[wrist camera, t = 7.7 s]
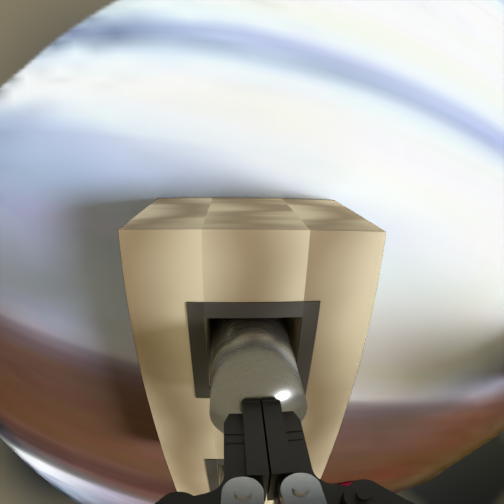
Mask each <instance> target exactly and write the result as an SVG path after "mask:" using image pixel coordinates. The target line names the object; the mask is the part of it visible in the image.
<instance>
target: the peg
mask: <svg viewBox="0 0 504 504" xmlns="http://www.w3.org/2000/svg"><path fill="white" fill-rule="evenodd" d="M278 399H279V400H280V403H281V408H282V412H286V411H293V412H294V413H295V414H296V415H297V416H298V418H299V419H300V420H301V422H302V420H303V419H304V417H305V415H306V413H307V407H308V406H307V400H306V397H305V393H304V389H303V386H302V382H301V379H300V375H299V372H298V368H297V365H296V361H295V357H294V354H293V350H292V347H291V343H290V340H289V336H288V333H287V329H286V326H285V322H284V319H283V318H215V330H214V344H213V359H212V374H211V390H210V408H209V415H210V419H211V421H212V423H213V424H214V426H215V427H216V428H217V429H218V430H219V431H221V432H222V433H224V422H225V420H226V418H227V416H228V415H229V414H242V401H258V400H260V403H261V400H278Z"/></svg>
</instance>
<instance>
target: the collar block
mask: <svg viewBox="0 0 504 504" xmlns="http://www.w3.org/2000/svg"><path fill="white" fill-rule="evenodd" d="M118 233H119V243H120V252H121V261H122V269H123V276H124V283H125V290H126V297H127V303H128V309H129V315H130V321H131V326H132V331H133V337H134V342H135V347H136V351H137V356H138V361H139V365H140V369H141V374H142V378H143V382H144V386H145V390H146V394H147V398H148V402H149V405H150V409H151V413H152V416H153V420H154V423H155V427H156V430H157V433H158V437H159V440H160V443H161V446H162V449H163V452H164V455H165V458H166V461H167V464H168V467H169V470H170V473H171V476H172V478H173V481H174V484H175V487H176V489H177V492H186V493H189V494H191V495H193V496H196V495H200V494H204V493H208V492H211V491H213V490H215V489H216V488H218V487H219V486H220V484H221V483H222V466H224V433H222V432H221V431H219V430H218V429H217V428H216V427H215V426H214V424H213V423H212V421H211V419H210V415H209V408H210V390H211V374H212V359H213V344H214V330H215V318H283V319H284V322H285V326H286V329H287V333H288V336H289V340H290V343H291V347H292V350H293V354H294V357H295V361H296V365H297V368H298V372H299V375H300V379H301V382H302V386H303V389H304V393H305V397H306V400H307V406H308V407H307V413H306V415H305V417H304V419H303V420H302V422H301V424H302V428H303V432H304V437H305V441H306V445H307V449H308V453H309V457H310V461H311V466H312V469H313V472H314V474H315V475H316V476H317V477H318V478H319V479H320V478H321V476H322V473H323V471H324V468H325V466H326V463H327V461H328V458H329V456H330V453H331V450H332V448H333V445H334V442H335V440H336V437H337V434H338V431H339V428H340V425H341V422H342V419H343V416H344V413H345V410H346V407H347V404H348V401H349V398H350V394H351V391H352V388H353V384H354V381H355V378H356V374H357V370H358V367H359V363H360V359H361V356H362V352H363V348H364V344H365V340H366V336H367V332H368V327H369V323H370V319H371V314H372V310H373V305H374V300H375V295H376V290H377V285H378V280H379V274H380V268H381V263H382V257H383V250H384V244H385V237H386V232H385V231H384V230H382V229H380V228H379V227H377V226H376V225H374V224H373V223H371V222H369V221H368V220H366V219H364V218H363V217H361V216H360V215H358V214H356V213H355V212H353V211H351V210H350V209H348V208H346V207H345V206H343V205H341V204H340V203H338V202H336V201H335V200H314V199H284V198H158V199H157V200H155V201H154V202H153V203H151V204H150V205H149V206H148V207H146V208H145V209H144V210H142V211H141V212H140V213H139V214H137V215H136V216H135V217H134V218H132V219H131V220H130V221H129V222H128V223H126V224H125V225H124V226H123V227H121V228H120V229H119V230H118ZM264 504H274V500H269V501H267V494H266V500H265V503H264Z"/></svg>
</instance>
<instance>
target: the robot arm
mask: <svg viewBox="0 0 504 504" xmlns="http://www.w3.org/2000/svg"><path fill="white" fill-rule="evenodd" d="M266 494H267V501H269V500H274V504H414V503H412V502H410V501H408V500H406V499H404V498H402V497H401V496H399V495H397V494H395V493H393V492H391V491H389V490H388V489H386V488H384V487H382V486H380V485H379V484H377V483H375V482H373V481H371V480H366V479H362V480H357V481H354V482H352V483H351V484H349V485H337V484H329V483H326V482H324V481H322V480H320V479H319V478H318V477H317V476H316V475H315V474H314V472H313V469H312V466H311V461H310V457H309V453H308V449H307V445H306V441H305V437H304V432H303V428H302V424H301V420H300V419H299V418H298V416H297V415H296V414H295V413H294V412H293V411H286V412H282V408H281V403H280V400H279V399H278V400H261V403H260V400H258V401H242V414H229V415H228V416H227V418H226V420H225V422H224V478H223V481H222V483H221V484H220V486H219V487H218V488H216V489H215V490H213V491H211V492H208V493H204V494H200V495H196V496H193V495H191V494H189V493H186V492H172V493H169V494H167V495H165V496H164V497H163V498H162V499H160V500H159V501H158V502H156V503H155V504H264V503H265V500H266Z"/></svg>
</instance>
